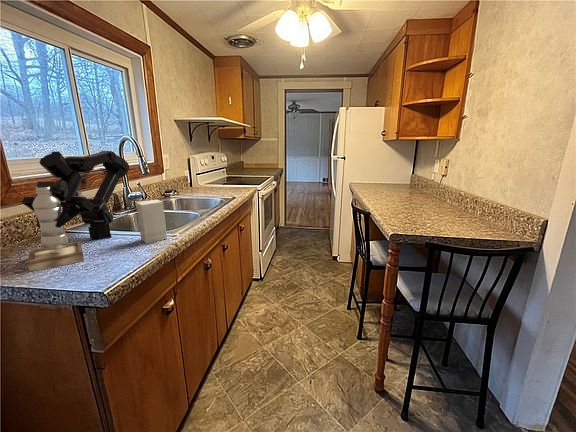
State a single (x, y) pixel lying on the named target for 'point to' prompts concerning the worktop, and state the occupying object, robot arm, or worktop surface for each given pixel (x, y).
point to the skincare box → (151, 221)
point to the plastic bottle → (49, 219)
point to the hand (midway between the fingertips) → (48, 227)
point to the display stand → (55, 256)
